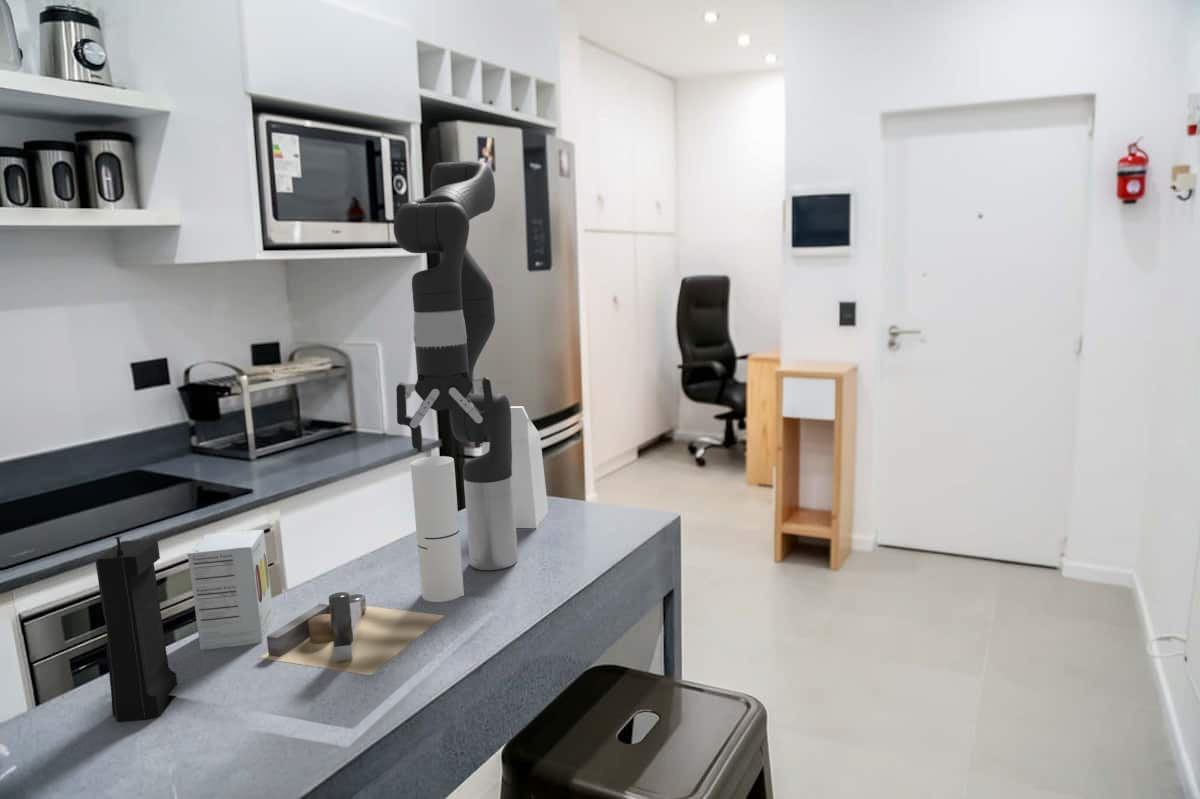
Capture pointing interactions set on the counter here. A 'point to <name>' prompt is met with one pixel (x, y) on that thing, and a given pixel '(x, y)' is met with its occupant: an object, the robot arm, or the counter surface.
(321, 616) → the nut
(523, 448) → the milk
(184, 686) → the counter surface
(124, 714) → the portable radio
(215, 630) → the supplement box
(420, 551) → the cylindrical container
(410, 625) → the nutcracker board
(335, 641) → the lever
